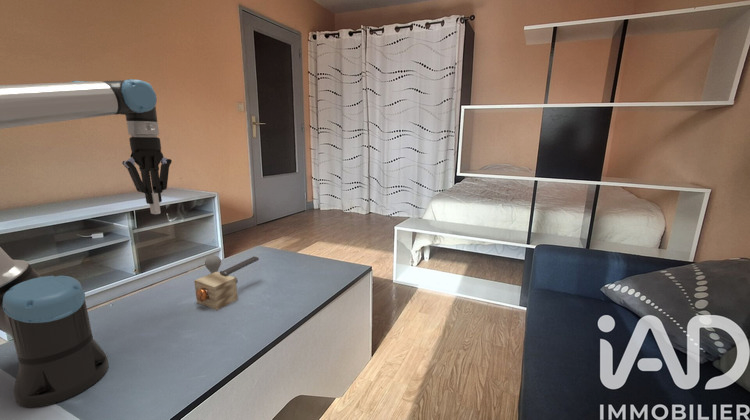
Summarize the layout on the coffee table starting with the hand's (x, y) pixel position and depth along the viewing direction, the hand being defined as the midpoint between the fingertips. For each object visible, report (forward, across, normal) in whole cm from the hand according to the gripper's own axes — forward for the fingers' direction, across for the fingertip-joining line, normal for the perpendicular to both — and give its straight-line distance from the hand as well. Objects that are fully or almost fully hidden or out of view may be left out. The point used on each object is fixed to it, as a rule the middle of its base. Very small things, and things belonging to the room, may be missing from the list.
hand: (155, 213), depth 100 cm
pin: (+28, +9, -14) cm, 32 cm away
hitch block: (+30, +8, -14) cm, 34 cm away
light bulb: (+31, +18, +1) cm, 36 cm away
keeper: (+22, +18, -14) cm, 32 cm away
